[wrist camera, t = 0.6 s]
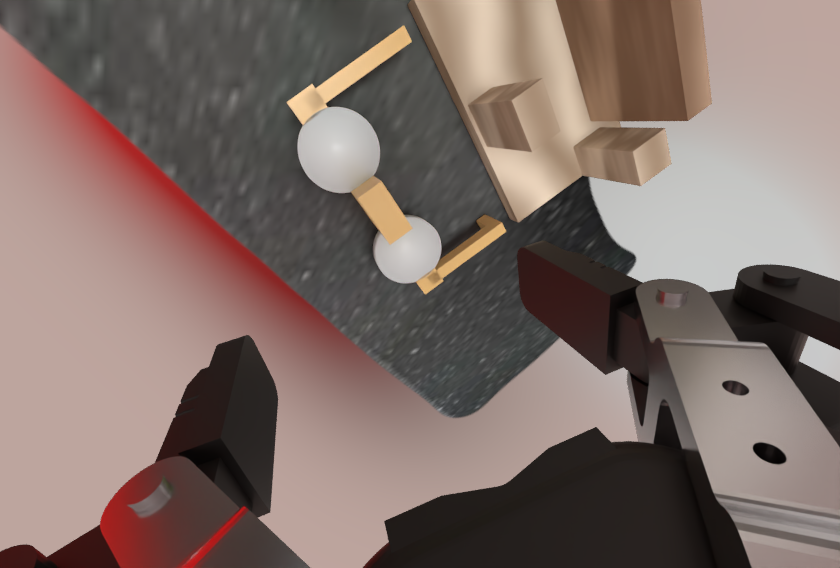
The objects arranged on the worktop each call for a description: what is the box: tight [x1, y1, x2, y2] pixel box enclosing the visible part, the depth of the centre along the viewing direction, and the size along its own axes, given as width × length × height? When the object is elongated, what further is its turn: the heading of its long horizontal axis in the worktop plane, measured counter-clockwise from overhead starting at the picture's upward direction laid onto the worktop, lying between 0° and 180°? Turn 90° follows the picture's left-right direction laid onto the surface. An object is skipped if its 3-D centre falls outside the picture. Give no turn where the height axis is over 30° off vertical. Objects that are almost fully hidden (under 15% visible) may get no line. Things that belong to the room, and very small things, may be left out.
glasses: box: [287, 26, 506, 294], centre depth 27 cm, size 11×18×6 cm, turn 32°
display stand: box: [407, 0, 712, 222], centre depth 26 cm, size 12×19×10 cm, turn 32°
